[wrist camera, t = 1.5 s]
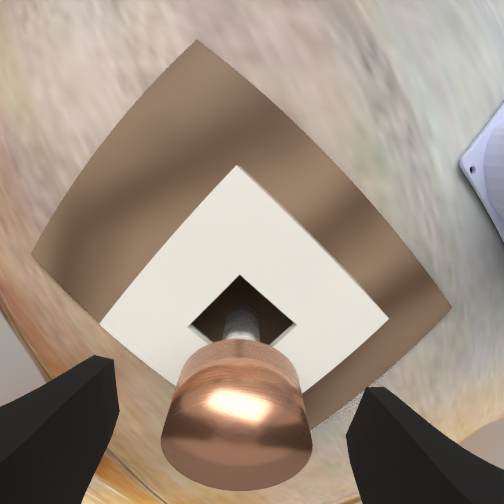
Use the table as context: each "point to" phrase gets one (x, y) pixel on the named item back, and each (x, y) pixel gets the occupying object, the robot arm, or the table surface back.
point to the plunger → (237, 412)
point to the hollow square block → (252, 270)
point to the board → (201, 185)
